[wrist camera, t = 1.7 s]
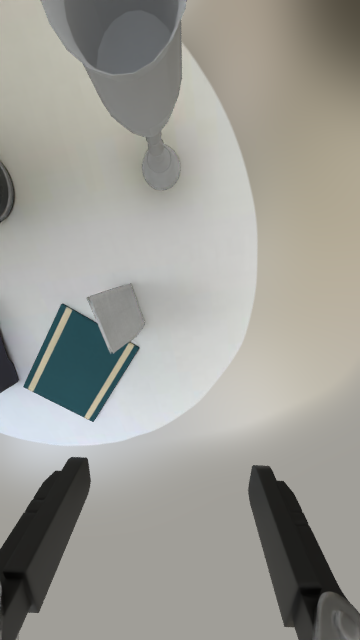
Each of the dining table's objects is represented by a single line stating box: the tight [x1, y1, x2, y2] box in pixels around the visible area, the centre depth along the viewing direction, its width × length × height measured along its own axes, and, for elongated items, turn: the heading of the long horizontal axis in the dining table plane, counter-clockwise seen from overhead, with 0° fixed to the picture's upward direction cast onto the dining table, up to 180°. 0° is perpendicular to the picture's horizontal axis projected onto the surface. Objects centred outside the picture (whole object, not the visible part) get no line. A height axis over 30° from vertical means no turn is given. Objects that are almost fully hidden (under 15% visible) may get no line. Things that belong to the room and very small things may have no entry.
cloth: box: [23, 304, 139, 422], centre depth 34 cm, size 14×18×1 cm
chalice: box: [41, 0, 187, 190], centre depth 17 cm, size 7×7×18 cm
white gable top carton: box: [87, 283, 145, 354], centre depth 26 cm, size 4×7×10 cm, turn 16°
